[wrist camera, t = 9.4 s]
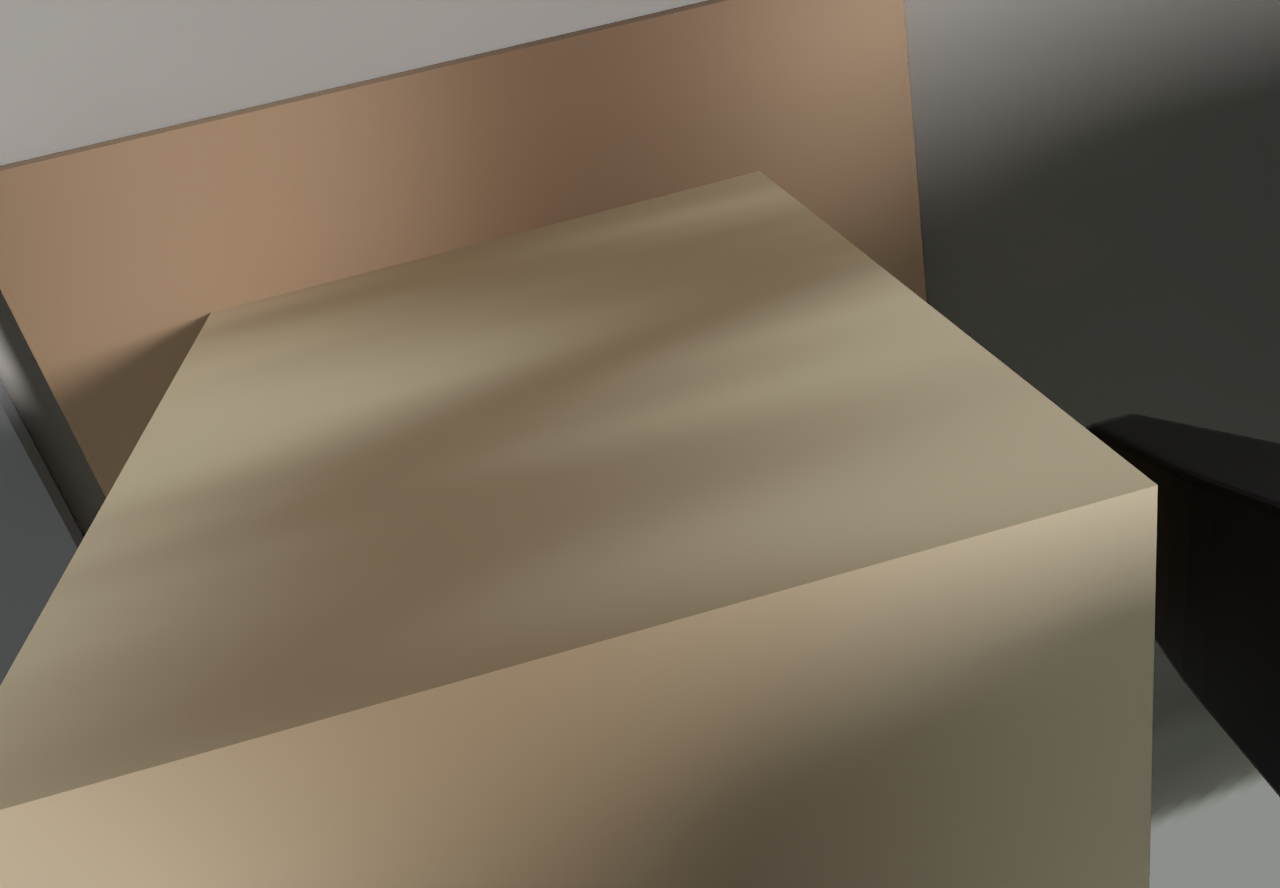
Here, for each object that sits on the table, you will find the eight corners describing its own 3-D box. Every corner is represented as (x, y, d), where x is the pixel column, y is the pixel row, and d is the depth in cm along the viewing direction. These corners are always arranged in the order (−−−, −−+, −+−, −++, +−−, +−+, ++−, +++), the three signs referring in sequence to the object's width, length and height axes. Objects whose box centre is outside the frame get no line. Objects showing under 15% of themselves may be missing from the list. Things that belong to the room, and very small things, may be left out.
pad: (887, -42, 9) (900, -40, 9) (944, 667, 13) (955, 682, 13) (-39, 175, 9) (-54, 183, 9) (295, 846, 13) (292, 867, 12)
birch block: (760, 171, 10) (1156, 483, 4) (829, 609, 12) (1145, 1165, 7) (211, 312, 9) (-83, 833, 4) (391, 734, 12) (353, 1416, 6)
